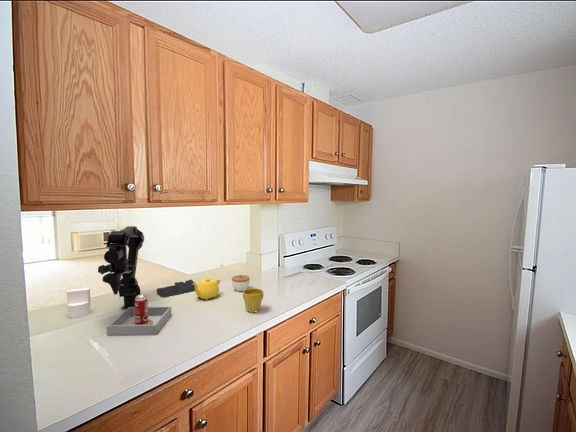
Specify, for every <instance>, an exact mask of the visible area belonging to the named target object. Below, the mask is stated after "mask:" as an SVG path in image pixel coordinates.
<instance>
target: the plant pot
mask: <svg viewBox="0 0 576 432" xmlns="http://www.w3.org/2000/svg"><path fill="white" fill-rule="evenodd" d="M264 294H265V293H264V290H263V289H261V288H256V287H255V288H254V287H252V288H247V289H246V290H244V291H242V299H243V300H244V305H245V310H247V311H249V312H248V313H250V312H255V311H258V310H259V309H260V308H261V305H262V301H263V299H264ZM247 311H246V312H247ZM259 311H260V310H259ZM259 311H258V312H259ZM255 313H256V312H255Z"/></svg>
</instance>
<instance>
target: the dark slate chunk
mask: <svg viewBox="0 0 576 432" xmlns="http://www.w3.org/2000/svg"><path fill="white" fill-rule="evenodd" d="M193 284H197V283H196V282H195V281H193V279H187V280H185V282H183V281H178V282H174V285H169V286H164V287H159V288H156V292H157V293H158V295H159V296H160V297H162V298H164V299H165V297H166V298H170V296H171V297H175V296H181V295H183V294H184V293H185V294H188V293H194V292H195V286H194V285H193ZM193 291H194V292H193Z"/></svg>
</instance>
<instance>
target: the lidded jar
mask: <svg viewBox="0 0 576 432" xmlns="http://www.w3.org/2000/svg"><path fill="white" fill-rule="evenodd" d="M231 284H232V288H233V289H234V290H235V291H236V290H237V291H236V292H238V291H242V292H243V290H246V289H249V288H248V287H250V276H249V275H246V274H245V275H244V274H237V275H233V276H232V277H231Z"/></svg>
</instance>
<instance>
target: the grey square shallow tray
mask: <svg viewBox="0 0 576 432" xmlns="http://www.w3.org/2000/svg"><path fill="white" fill-rule="evenodd" d="M159 315H160V317H159V319H158V320H157V321H156V322H155V323H154V322H153V320H152V319H149V318H148V323H147V324H146V325H136V324H135V321H133V322H131V323H130V324H124V322H126V321H127V320H128V319H129V318H130V317H135V307H129V308H128V309H124V311H123V312H121V313H120V314H119V315H118V316H117V317H116V318H115V319H114V320H112V321H110V323H109V324H108V325H106V336H107V337H108V336H109V337H110V336H112V337H113V336H114V337H115V336H116V337H117V336H152V335H153V336H155V335H157V334H158V333H159V331H160V330H161V329H162V328H163V326H164V325H165V324H166V323H167V321H168V319H170V317H171V315H172V306H148V317H149V316H152V317H153V316H156V317H157V316H159ZM164 323H165V324H164Z"/></svg>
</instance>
